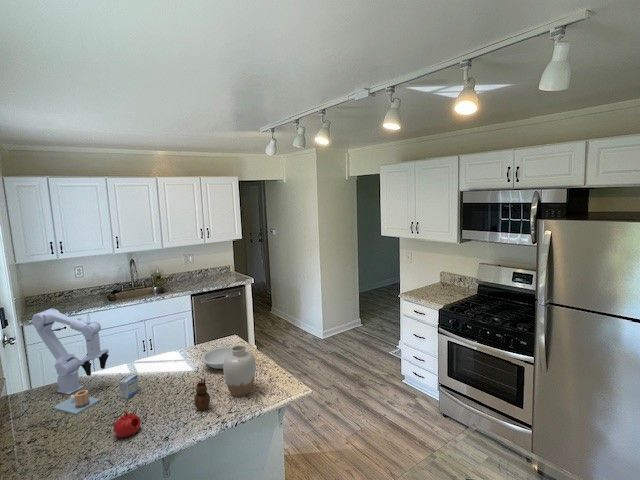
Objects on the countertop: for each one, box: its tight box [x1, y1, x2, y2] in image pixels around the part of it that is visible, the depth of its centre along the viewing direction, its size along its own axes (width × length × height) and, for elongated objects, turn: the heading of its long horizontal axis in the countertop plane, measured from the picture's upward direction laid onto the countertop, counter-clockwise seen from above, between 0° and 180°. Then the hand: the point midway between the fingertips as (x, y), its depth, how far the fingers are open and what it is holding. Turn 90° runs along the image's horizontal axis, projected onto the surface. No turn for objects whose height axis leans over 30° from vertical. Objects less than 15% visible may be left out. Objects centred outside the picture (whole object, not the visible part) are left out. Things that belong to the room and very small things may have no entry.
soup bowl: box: [201, 345, 235, 370], centre depth 205 cm, size 24×24×7 cm
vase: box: [222, 344, 257, 398], centre depth 175 cm, size 16×16×23 cm
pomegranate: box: [113, 410, 142, 438], centre depth 146 cm, size 10×10×9 cm
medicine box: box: [118, 374, 140, 399], centre depth 176 cm, size 8×4×9 cm, turn 168°
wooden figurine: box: [193, 377, 211, 411], centre depth 162 cm, size 7×6×15 cm
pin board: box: [52, 394, 101, 416], centre depth 168 cm, size 16×12×4 cm
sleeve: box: [74, 389, 90, 408], centre depth 167 cm, size 5×5×6 cm
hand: (95, 371), depth 181 cm, fingers open, 7 cm apart
